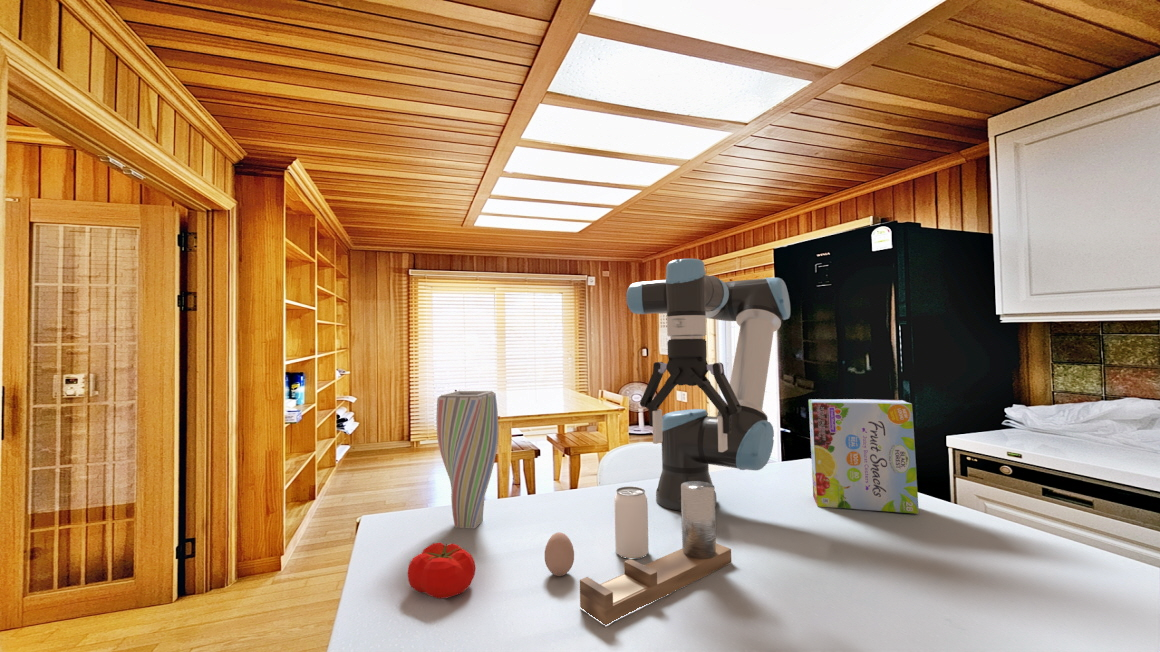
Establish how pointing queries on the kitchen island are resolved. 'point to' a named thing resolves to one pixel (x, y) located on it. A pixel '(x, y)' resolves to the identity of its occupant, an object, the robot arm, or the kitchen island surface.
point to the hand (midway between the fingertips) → (689, 446)
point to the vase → (468, 449)
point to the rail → (646, 583)
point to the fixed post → (698, 520)
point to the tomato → (441, 570)
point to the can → (631, 522)
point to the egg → (559, 554)
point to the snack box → (863, 454)
